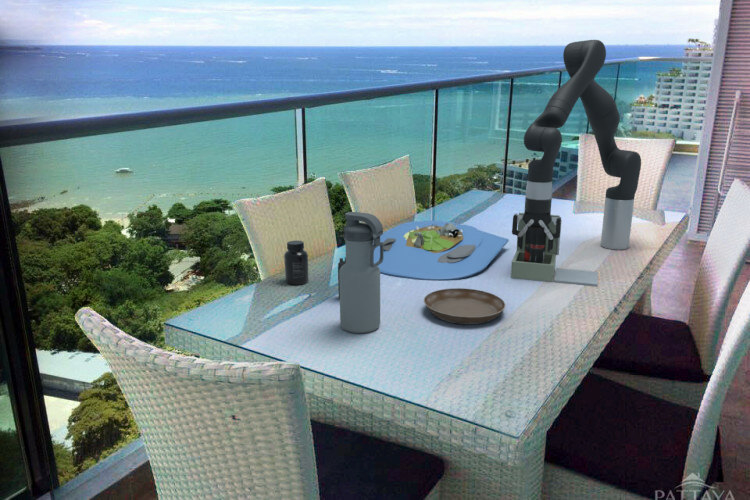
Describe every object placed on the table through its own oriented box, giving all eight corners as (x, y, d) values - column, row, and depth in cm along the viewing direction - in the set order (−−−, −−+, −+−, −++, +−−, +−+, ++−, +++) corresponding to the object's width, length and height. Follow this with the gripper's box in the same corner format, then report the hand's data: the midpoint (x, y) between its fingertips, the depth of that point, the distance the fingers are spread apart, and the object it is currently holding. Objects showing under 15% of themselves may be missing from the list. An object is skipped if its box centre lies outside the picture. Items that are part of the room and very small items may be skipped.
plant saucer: (486, 296, 175) (487, 284, 174) (518, 325, 156) (519, 312, 155) (414, 302, 171) (414, 290, 170) (437, 332, 152) (438, 319, 151)
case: (515, 265, 201) (519, 212, 196) (557, 268, 197) (562, 215, 192) (510, 277, 189) (514, 222, 184) (555, 282, 185) (559, 225, 180)
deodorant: (543, 277, 189) (547, 228, 185) (523, 276, 190) (526, 227, 186) (542, 271, 195) (546, 223, 191) (522, 270, 196) (526, 222, 192)
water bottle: (388, 322, 157) (388, 211, 149) (371, 337, 148) (370, 221, 141) (351, 316, 161) (349, 208, 153) (333, 330, 153) (330, 216, 145)
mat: (556, 269, 196) (556, 267, 196) (597, 273, 192) (597, 271, 192) (554, 282, 185) (554, 280, 185) (597, 286, 182) (597, 284, 181)
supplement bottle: (312, 279, 188) (311, 240, 185) (302, 286, 182) (301, 246, 179) (291, 276, 191) (290, 238, 187) (281, 284, 184) (279, 244, 181)
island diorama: (462, 306, 182) (461, 267, 177) (337, 279, 203) (334, 243, 198) (515, 248, 217) (516, 213, 212) (404, 230, 238) (402, 198, 233)
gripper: (564, 195, 187) (560, 248, 192) (515, 192, 192) (512, 244, 196) (563, 200, 180) (558, 255, 185) (512, 197, 185) (509, 250, 189)
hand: (534, 249), depth 191 cm, fingers open, 7 cm apart
